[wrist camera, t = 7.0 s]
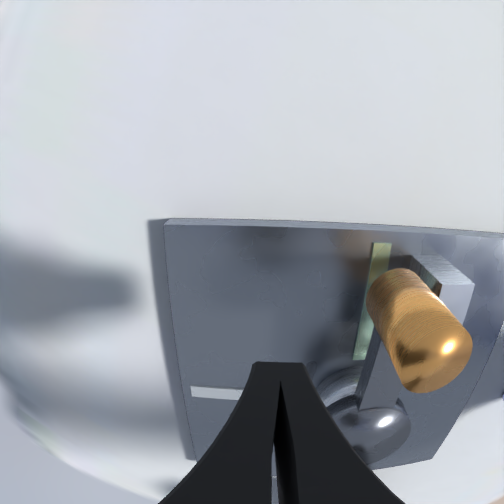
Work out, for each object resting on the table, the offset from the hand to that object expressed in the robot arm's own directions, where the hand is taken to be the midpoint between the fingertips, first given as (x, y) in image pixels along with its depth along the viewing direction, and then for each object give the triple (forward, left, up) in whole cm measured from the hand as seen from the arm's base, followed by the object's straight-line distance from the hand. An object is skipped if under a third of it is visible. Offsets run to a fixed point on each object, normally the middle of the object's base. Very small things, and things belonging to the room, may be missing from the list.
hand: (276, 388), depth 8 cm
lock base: (-4, +6, -7) cm, 10 cm away
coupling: (-4, +3, -4) cm, 7 cm away
